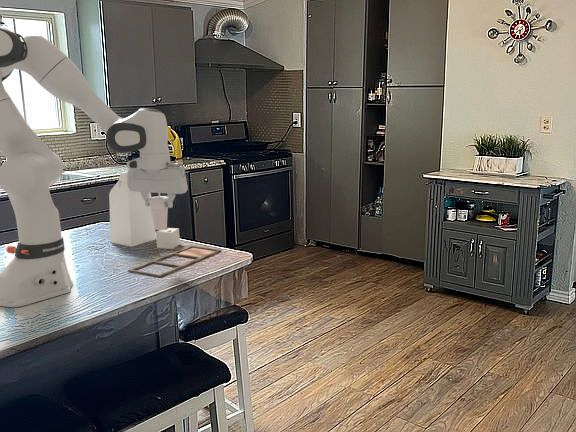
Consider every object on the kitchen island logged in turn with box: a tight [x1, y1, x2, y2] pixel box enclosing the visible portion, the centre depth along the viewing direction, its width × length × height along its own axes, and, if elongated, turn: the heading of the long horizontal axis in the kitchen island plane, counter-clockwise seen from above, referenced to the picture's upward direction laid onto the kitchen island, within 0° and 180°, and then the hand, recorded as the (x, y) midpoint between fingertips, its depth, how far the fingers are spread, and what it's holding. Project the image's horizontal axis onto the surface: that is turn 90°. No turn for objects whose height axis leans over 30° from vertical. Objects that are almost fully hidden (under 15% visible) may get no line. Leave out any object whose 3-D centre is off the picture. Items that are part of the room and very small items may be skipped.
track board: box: [127, 245, 222, 279], centre depth 188 cm, size 31×13×1 cm, turn 150°
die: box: [155, 227, 181, 250], centre depth 206 cm, size 6×6×6 cm
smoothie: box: [148, 193, 169, 231], centre depth 178 cm, size 6×6×14 cm
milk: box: [108, 170, 157, 248], centre depth 212 cm, size 12×12×26 cm
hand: (159, 206), depth 178 cm, fingers closed on smoothie, 6 cm apart
